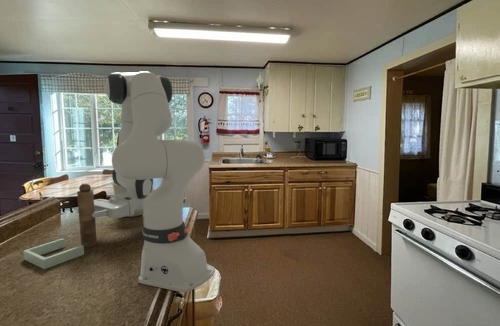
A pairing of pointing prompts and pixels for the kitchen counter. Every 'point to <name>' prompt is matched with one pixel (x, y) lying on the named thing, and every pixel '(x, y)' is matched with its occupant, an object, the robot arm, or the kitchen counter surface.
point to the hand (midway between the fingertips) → (85, 213)
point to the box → (35, 252)
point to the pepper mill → (86, 215)
